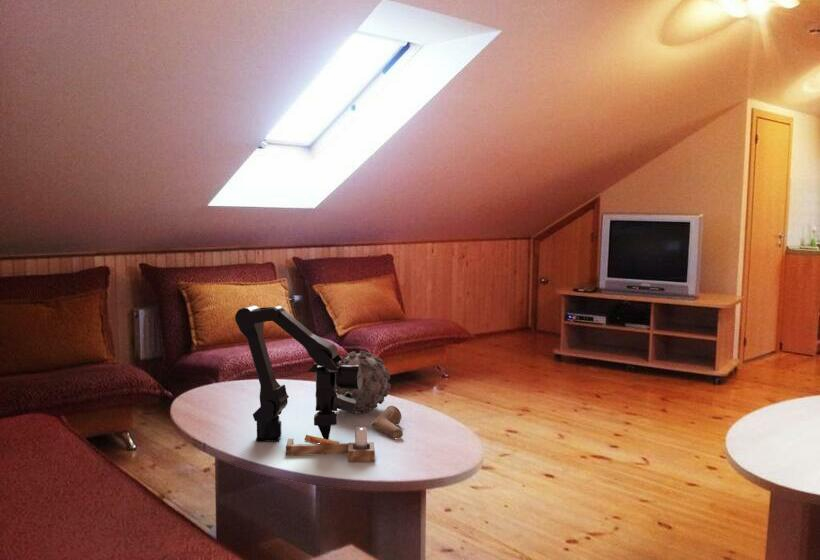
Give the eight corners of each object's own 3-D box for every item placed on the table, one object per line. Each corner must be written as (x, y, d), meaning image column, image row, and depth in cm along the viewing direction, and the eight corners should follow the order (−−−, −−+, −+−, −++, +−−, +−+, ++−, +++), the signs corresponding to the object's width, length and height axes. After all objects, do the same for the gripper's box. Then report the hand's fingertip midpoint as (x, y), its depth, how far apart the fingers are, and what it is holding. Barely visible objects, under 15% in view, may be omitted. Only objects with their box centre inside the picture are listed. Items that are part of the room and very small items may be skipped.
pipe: (390, 425, 206) (419, 415, 211) (363, 411, 220) (391, 402, 225) (393, 446, 207) (422, 435, 212) (366, 431, 221) (394, 421, 226)
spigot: (355, 459, 191) (355, 430, 190) (355, 455, 194) (355, 426, 194) (367, 459, 191) (367, 430, 191) (366, 455, 195) (366, 426, 194)
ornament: (378, 400, 250) (378, 344, 249) (397, 416, 232) (398, 355, 230) (323, 406, 244) (323, 348, 242) (338, 422, 225) (338, 360, 223)
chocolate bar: (336, 450, 200) (336, 443, 200) (303, 443, 207) (303, 435, 206) (341, 448, 202) (341, 440, 202) (309, 441, 209) (308, 433, 209)
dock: (283, 463, 188) (283, 452, 188) (288, 447, 201) (287, 437, 200) (374, 461, 190) (374, 450, 189) (373, 445, 203) (373, 435, 202)
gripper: (354, 395, 195) (354, 450, 197) (353, 379, 213) (354, 429, 215) (313, 396, 194) (314, 451, 196) (316, 379, 213) (317, 430, 214)
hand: (326, 440), depth 205 cm, fingers closed
